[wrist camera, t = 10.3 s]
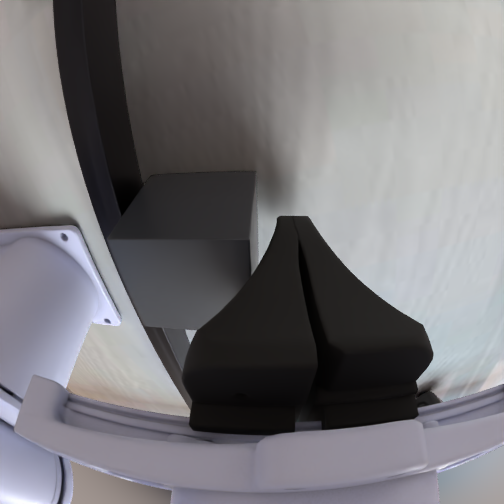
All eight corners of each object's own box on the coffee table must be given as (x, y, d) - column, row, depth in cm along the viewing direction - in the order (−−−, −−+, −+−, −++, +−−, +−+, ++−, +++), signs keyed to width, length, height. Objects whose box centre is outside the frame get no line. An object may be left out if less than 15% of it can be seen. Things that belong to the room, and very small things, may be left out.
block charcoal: (169, 255, 15) (144, 326, 11) (150, 174, 12) (106, 239, 8) (258, 256, 14) (254, 333, 11) (256, 170, 11) (249, 239, 8)
